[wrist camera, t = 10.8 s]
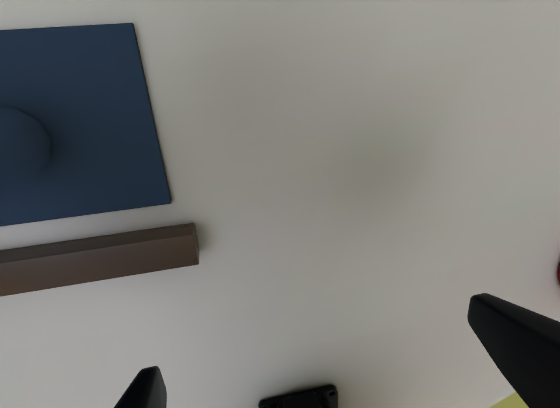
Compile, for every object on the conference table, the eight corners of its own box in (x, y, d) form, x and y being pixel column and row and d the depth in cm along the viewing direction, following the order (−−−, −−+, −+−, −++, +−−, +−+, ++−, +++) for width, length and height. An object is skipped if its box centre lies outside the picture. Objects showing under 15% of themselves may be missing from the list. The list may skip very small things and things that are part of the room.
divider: (199, 251, 21) (198, 264, 19) (-77, 294, 19) (-100, 313, 17) (194, 222, 20) (193, 234, 19) (-96, 264, 18) (-121, 281, 16)
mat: (171, 201, 19) (171, 203, 19) (-89, 236, 17) (-94, 239, 17) (133, 23, 16) (132, 22, 15) (-203, 42, 14) (-211, 41, 13)
